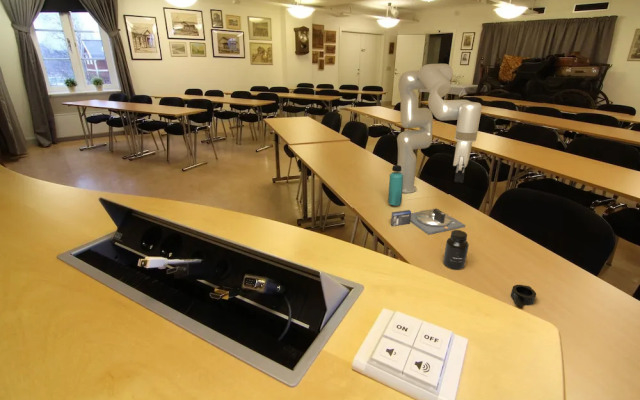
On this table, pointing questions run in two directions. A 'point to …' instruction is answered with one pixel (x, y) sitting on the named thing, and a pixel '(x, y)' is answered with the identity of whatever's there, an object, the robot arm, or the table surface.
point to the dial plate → (432, 230)
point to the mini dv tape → (400, 218)
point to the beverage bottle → (395, 186)
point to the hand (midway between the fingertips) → (458, 181)
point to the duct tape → (523, 295)
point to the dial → (433, 218)
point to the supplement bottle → (456, 250)
